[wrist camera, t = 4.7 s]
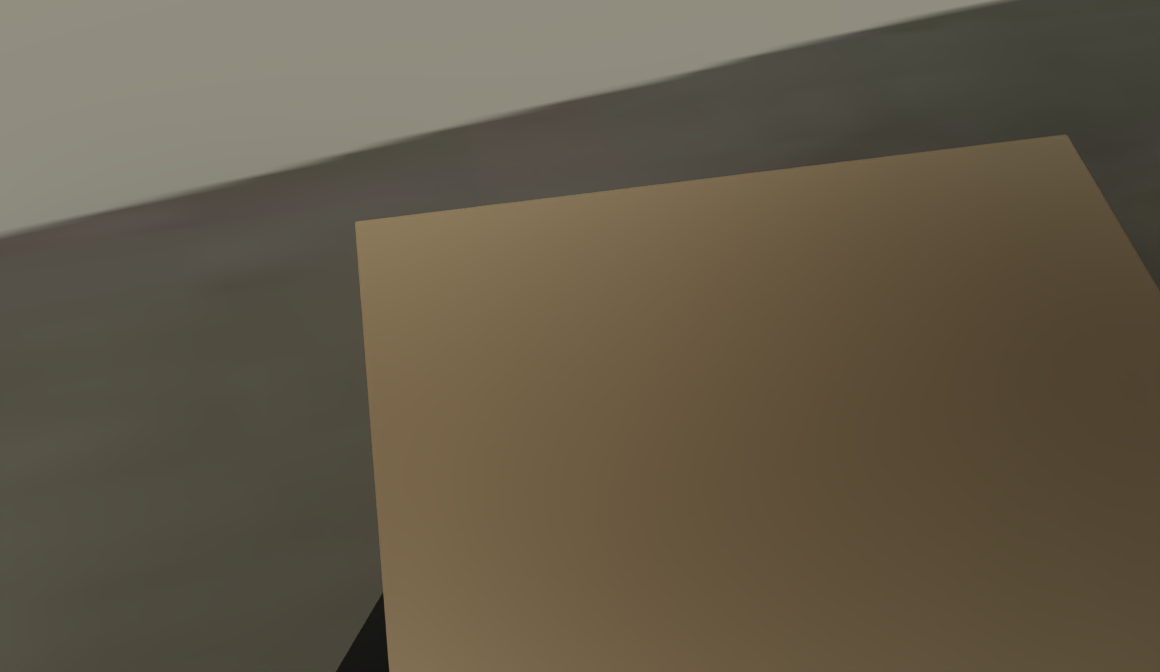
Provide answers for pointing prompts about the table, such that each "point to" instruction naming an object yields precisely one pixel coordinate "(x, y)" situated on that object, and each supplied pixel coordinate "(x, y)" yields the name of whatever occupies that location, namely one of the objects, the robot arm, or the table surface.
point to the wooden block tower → (771, 424)
